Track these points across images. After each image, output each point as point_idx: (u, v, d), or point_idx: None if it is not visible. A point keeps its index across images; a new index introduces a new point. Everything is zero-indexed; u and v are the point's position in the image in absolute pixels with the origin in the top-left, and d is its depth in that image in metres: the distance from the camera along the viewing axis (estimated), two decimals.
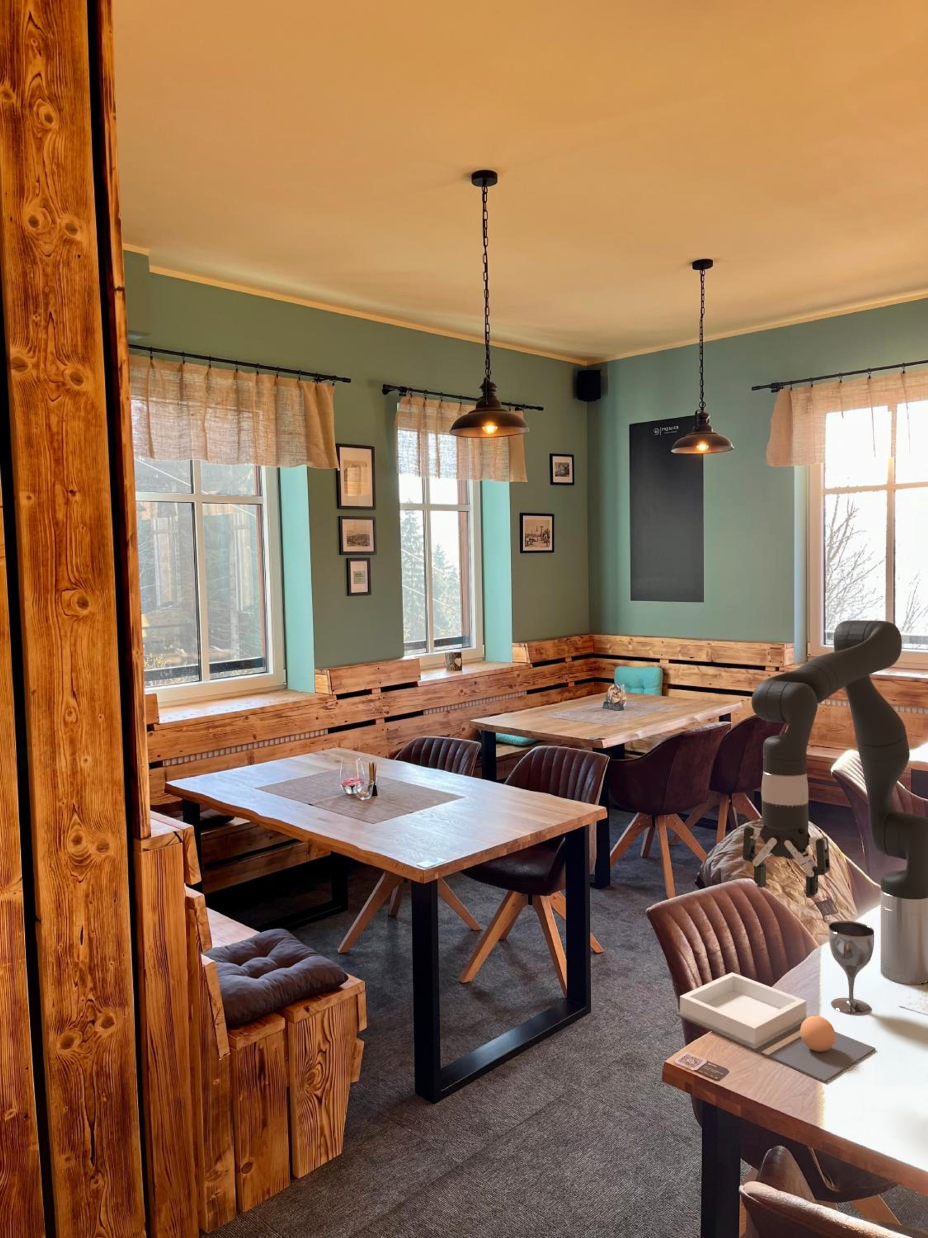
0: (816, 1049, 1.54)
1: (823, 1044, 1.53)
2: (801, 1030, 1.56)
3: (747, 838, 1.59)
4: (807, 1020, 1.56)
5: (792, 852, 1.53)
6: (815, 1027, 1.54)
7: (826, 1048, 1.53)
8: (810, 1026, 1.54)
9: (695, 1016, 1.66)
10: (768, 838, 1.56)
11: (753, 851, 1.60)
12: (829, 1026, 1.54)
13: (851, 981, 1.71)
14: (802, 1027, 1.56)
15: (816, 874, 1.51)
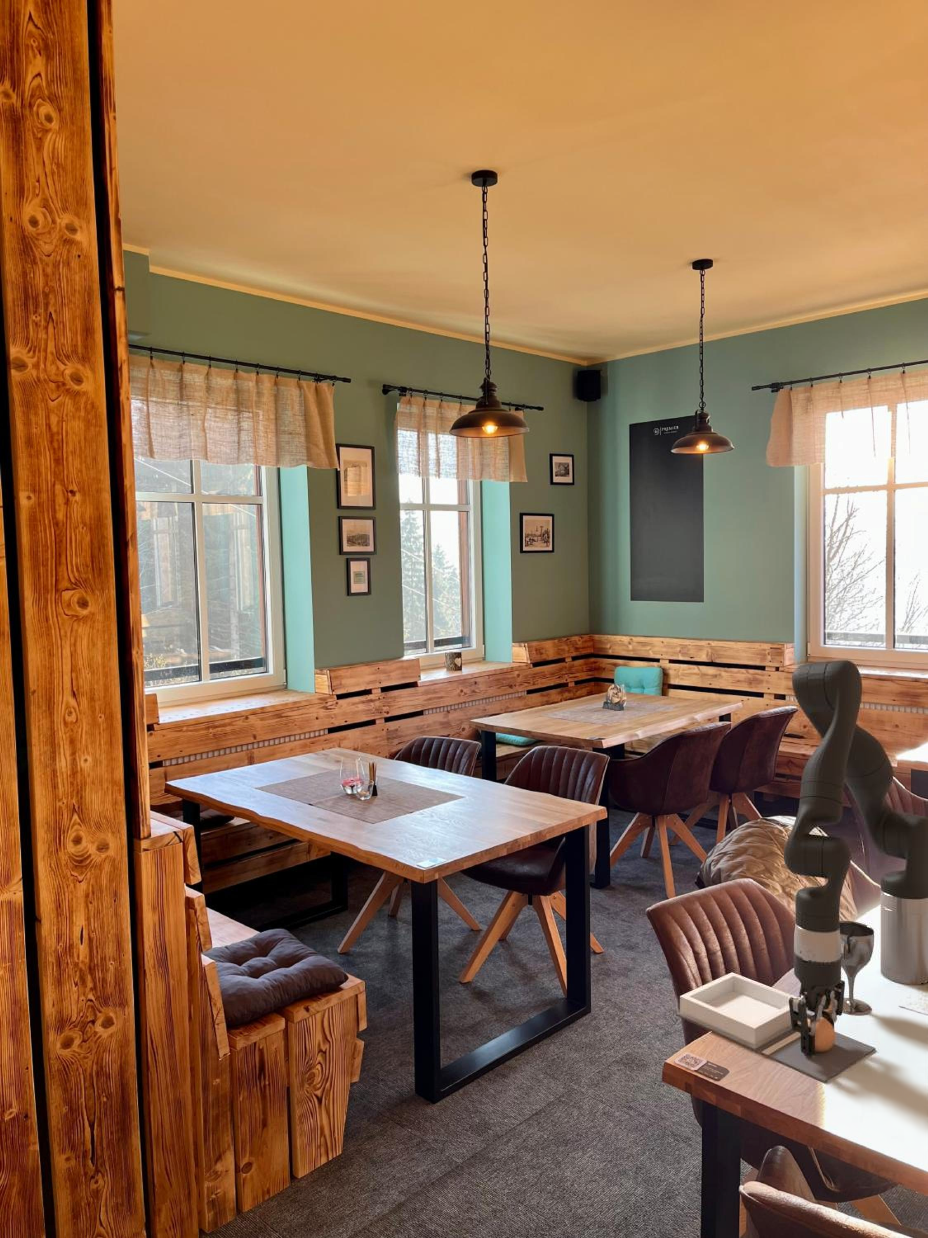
0: (816, 1049, 1.54)
1: (823, 1044, 1.53)
2: None
3: (804, 1013, 1.51)
4: None
5: (831, 1002, 1.55)
6: None
7: (826, 1048, 1.53)
8: None
9: (695, 1016, 1.66)
10: (815, 1000, 1.53)
11: (796, 1022, 1.53)
12: (829, 1026, 1.54)
13: (851, 981, 1.71)
14: None
15: None
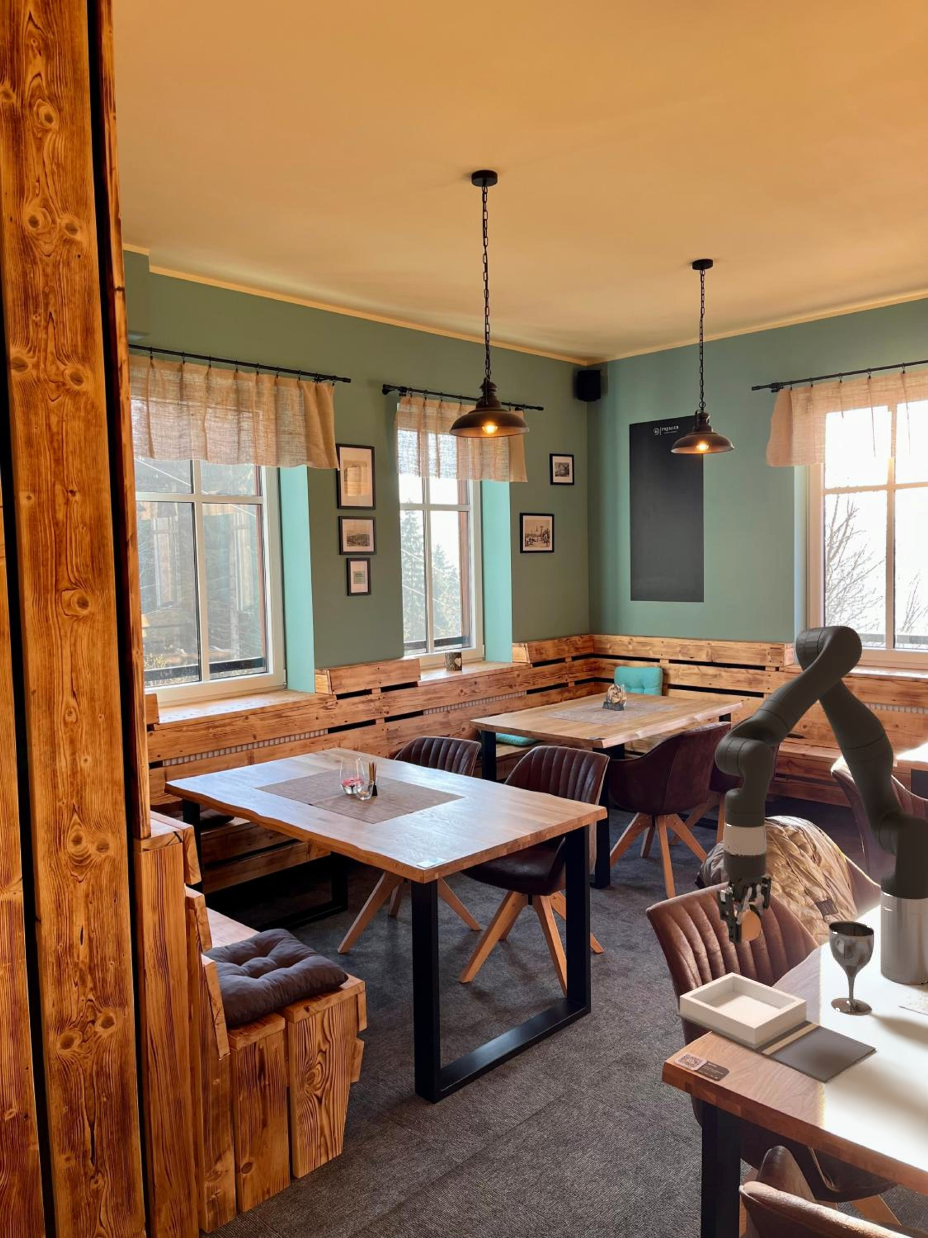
0: (743, 938, 1.64)
1: (749, 933, 1.64)
2: None
3: (731, 902, 1.61)
4: (735, 913, 1.66)
5: (757, 895, 1.66)
6: (742, 917, 1.64)
7: (752, 937, 1.64)
8: None
9: (695, 1016, 1.66)
10: (742, 892, 1.64)
11: (724, 912, 1.64)
12: (755, 917, 1.65)
13: (851, 981, 1.71)
14: None
15: None
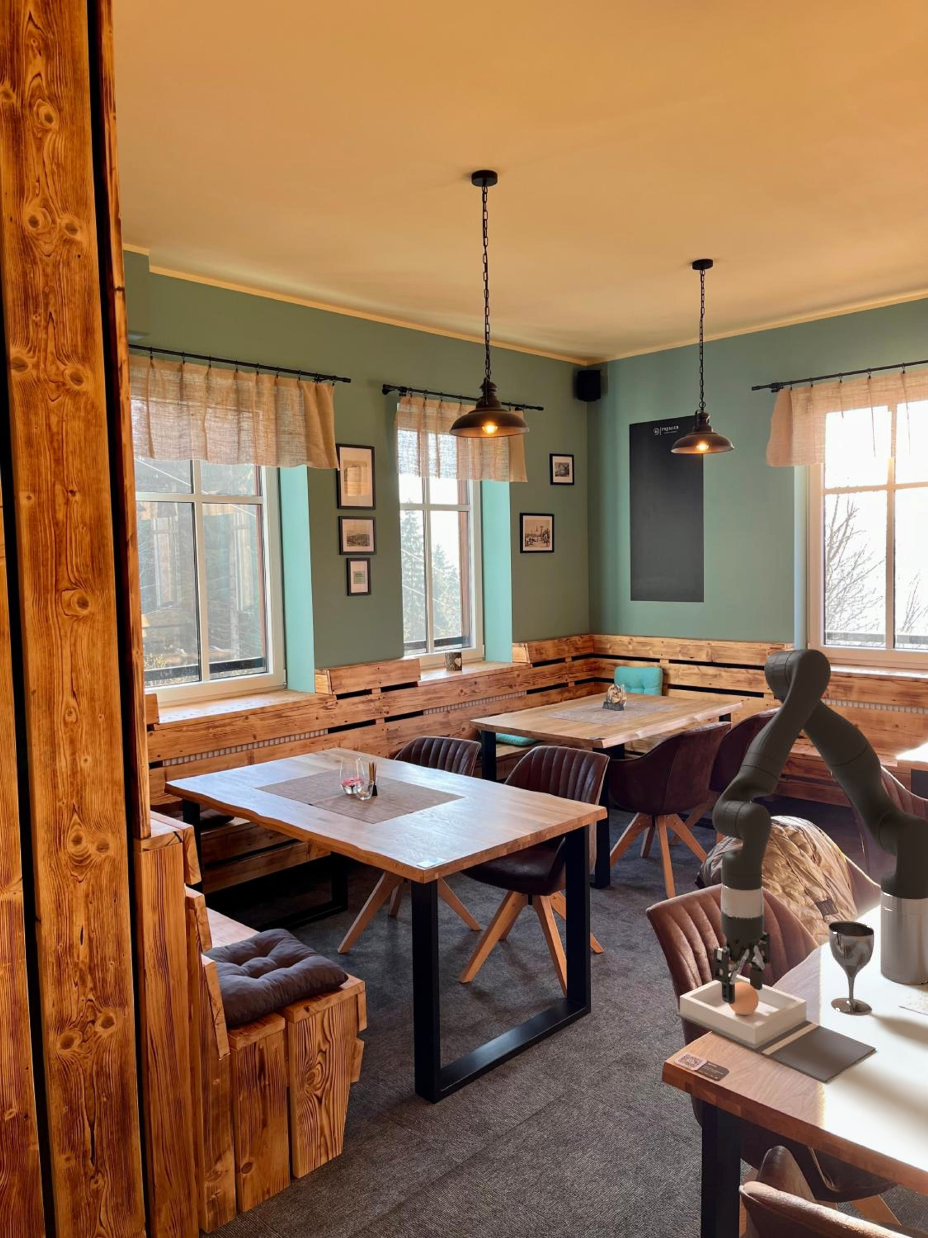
0: (740, 1012, 1.66)
1: (747, 1008, 1.65)
2: None
3: (727, 961, 1.62)
4: None
5: (756, 955, 1.67)
6: (740, 992, 1.66)
7: (749, 1011, 1.65)
8: (735, 991, 1.66)
9: (695, 1016, 1.66)
10: (739, 952, 1.65)
11: (718, 972, 1.64)
12: (753, 991, 1.66)
13: (851, 981, 1.71)
14: None
15: None
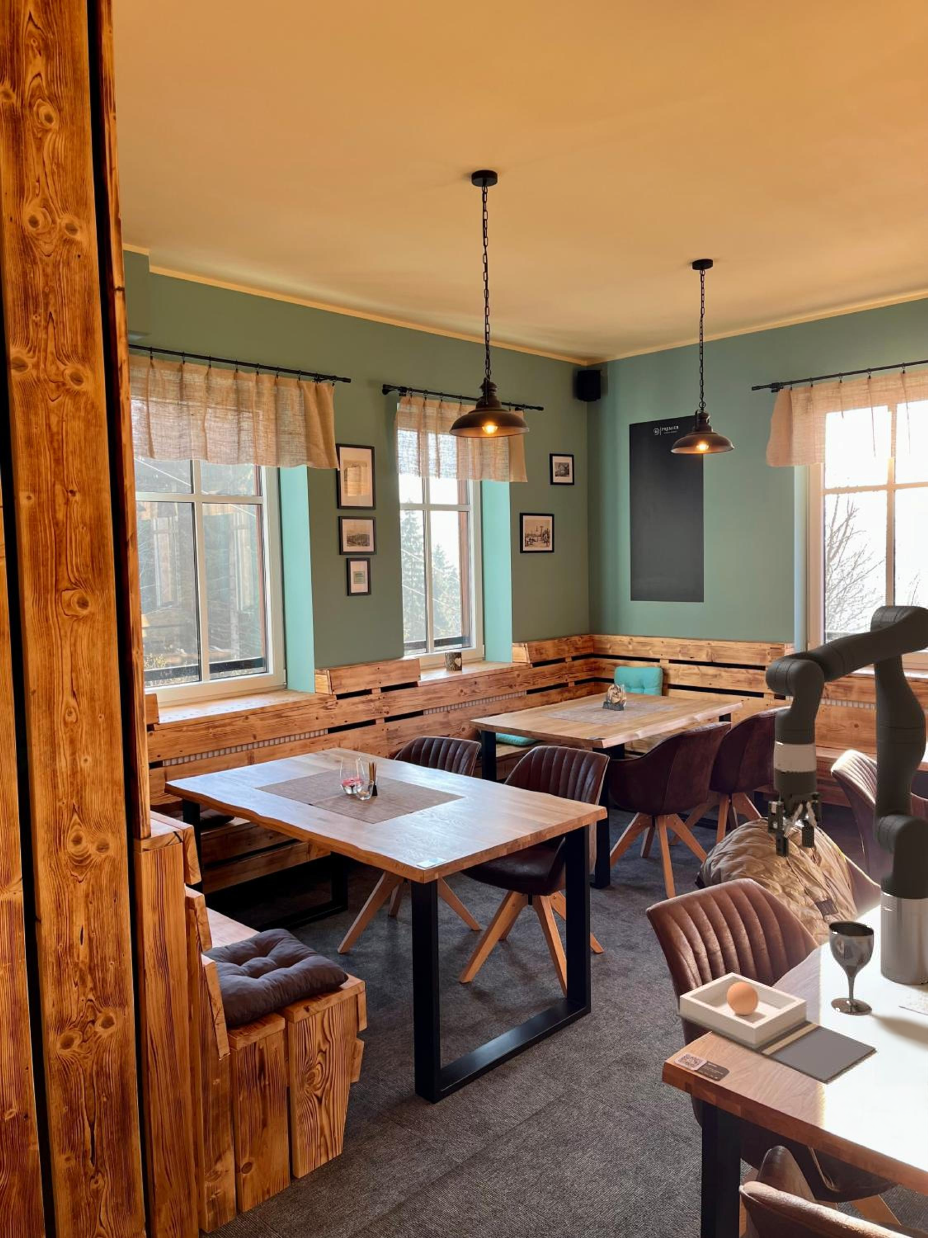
0: (740, 1013, 1.66)
1: (746, 1008, 1.65)
2: (727, 995, 1.68)
3: (781, 813, 1.65)
4: (732, 986, 1.68)
5: (809, 811, 1.70)
6: (740, 992, 1.66)
7: (749, 1011, 1.65)
8: (735, 991, 1.66)
9: (695, 1016, 1.66)
10: (792, 807, 1.67)
11: (772, 826, 1.67)
12: (752, 991, 1.66)
13: (851, 981, 1.71)
14: (728, 993, 1.68)
15: None
